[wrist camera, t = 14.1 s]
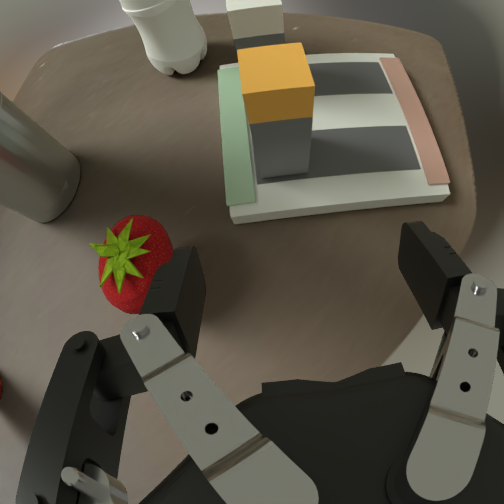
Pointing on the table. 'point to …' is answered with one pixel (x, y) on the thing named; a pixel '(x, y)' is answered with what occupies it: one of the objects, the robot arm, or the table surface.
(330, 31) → the table surface
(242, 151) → the grey base plate
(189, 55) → the water bottle
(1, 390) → the paper cup
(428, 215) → the table surface
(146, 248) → the strawberry
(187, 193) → the table surface
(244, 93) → the orange-topped grey pillar
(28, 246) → the table surface
